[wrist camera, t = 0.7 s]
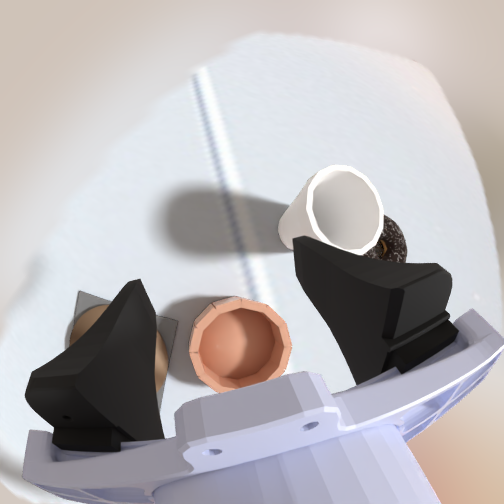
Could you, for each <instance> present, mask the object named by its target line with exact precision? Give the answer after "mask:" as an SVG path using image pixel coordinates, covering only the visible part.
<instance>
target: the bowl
mask: <svg viewBox="0 0 504 504" xmlns="http://www.w3.org/2000/svg"><path fill="white" fill-rule="evenodd" d="M212 304H213V305H212ZM212 304H211V303H210V304H209V305H208V307H207V308H206V309H205V310H204V311H203V312H202V313H201V314H200V315H199V316H198V317H197V318H196V319H195V321H194V323H193V327H192V331H191V336H190V340H189V354H190V357H191V360H192V363H193V366H194V369H195V371H196V374H197V376H198V378H199V379H200V380H202V381H203V382H204V383H205V384H207V385H208V386H209V387H210V388H212V389H213V390H214V391H216V392H218V393H222V392H227V391H231V390H235V389H239V388H242V387H246V386H250V385H253V384H257V383H261V382H264V381H267V380H271V379H274V378H277V377H280V376H281V375H282V374H283V373H284V372H285V370H283V369H286V367H287V364H288V360H289V357H290V353H291V349H292V347H291V346H292V343H291V339H290V336H289V332H288V328H287V324H286V323H285V321H284V320H283V319H282V318H281V317H280V316H279V315H278V314H277V313H276V312H275V311H274V310H273V309H272V308H270V307H269V306H268V305H267V304H264V303H261V302H258V301H254V300H250V299H246V298H241V297H237V296H233V297H229V298H226V299H222V300H219V301H216V302H212Z"/></svg>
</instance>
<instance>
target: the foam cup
mask: <svg viewBox="0 0 504 504" xmlns="http://www.w3.org/2000/svg"><path fill="white" fill-rule="evenodd" d="M383 216H384V209H383V206H382V203H381V200H380V197H379V194H378V191H377V190H376V189H375V187H374V186H373V185H372V183H371V182H370V181H369V180H368V178H367V177H366V176H365V175H364V174H362V173H360V172H359V171H357V170H355V169H354V168H352V167H350V166H341V165H331V166H329V167H327V168H325V169H323V170H321V171H319V172H317V173H316V174H315V175H313V176H312V177H311V178H310V179H308V180H307V182H306V184H305V185H304V187H303V188H302V190H301V191H300V193H299V195H298V196H297V197H296V198H295V200H294V201H293V202H292V203H291V205H290V206H289V207H288V208H287V210H286V211H285V212H284V214H283V215H282V217H281V219H280V220H279V225H278V233H279V236H280V239H281V241H282V242H283V243H284V244H285V246H286V247H287V248H289V249H291V250H293V242H292V238H296V237H300V236H304V235H305V236H308V237H311V238H314V239H316V240H319V241H321V242H324V243H326V244H329V245H331V246H334V247H337V248H339V249H342V250H345V251H348V252H351V253H354V254H357V255H363V254H364V253H366V252H367V251H368V250H370V249H371V248H372V247H373V246H375V245H376V243H377V241H378V239H379V237H380V235H381V232H382V230H383Z"/></svg>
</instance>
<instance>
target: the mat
mask: <svg viewBox="0 0 504 504" xmlns="http://www.w3.org/2000/svg"><path fill="white" fill-rule="evenodd" d="M110 303H111V301H108V300H105V299H102V298H99V297H96V296H94V295H91V294H88V293H85V292H82V291H80V292H79V297H78V302H77V308H76V314H75V320H74V326H75V324H76V322H77V321H78V320H79V318H80V317H81V316H82V315H83V314H85V313H86V312H87V311H89V310H91V309H93V308H96V307H98V306H102V305H110ZM156 323H157V330H158V331H159V333H160V335H161V336H162V338H163V341H164V343H165V346H166V349H167V354H168V365H169V360H170V355H171V351H172V346H173V341H174V337H175V332H176V328H177V323H178V321H176V320H172V319H168V318H165V317H161V316H158V315H156ZM73 328H74V327H73ZM165 381H166V378H165ZM165 381H164V383H163V385H162V387H161V388H160V390H159V391H158V392H157V401H158V408H159V414H160V408H161V402H162V397H163V391H164V386H165Z"/></svg>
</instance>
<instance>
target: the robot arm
mask: <svg viewBox="0 0 504 504" xmlns="http://www.w3.org/2000/svg"><path fill="white" fill-rule="evenodd" d="M292 242H293V251H294V261H295V272H296V276H297V278H298V280H299V282H300V284H301V286H302V288H303V290H304V292H305V293H306V295H307V296H308V298H309V299H310V301H311V302H312V303H313V305H314V306H315V308H316V309H317V310H318V312H319V313H320V315H321V316H322V318H323V319H324V320H325V322H326V323H327V325H328V327H329V328H330V330H331V332H332V334H333V335H334V337H335V339H336V341H337V343H338V345H339V347H340V349H341V351H342V353H343V355H344V357H345V359H346V362H347V364H348V366H349V368H350V371H351V373H352V375H353V378H354V380H355V383H356V385H357V386H355V387H352V388H350V389H348V390H346V391H342V392H338V393H333V394H331V393H330V391H329V389H328V387H327V385H326V383H325V381H324V380H323V378H322V376H321V374H316V373H311V372H306V371H303V372H298V373H292V374H287V375H284V376H281V377H277V378H274V379H271V380H267V381H264V382H261V383H257V384H253V385H250V386H246V387H242V388H239V389H235V390H231V391H227V392H222V393H218V394H214V395H209V396H204V397H200V398H197V399H195V400H192V401H189V402H186V403H184V404H183V405H182V406H181V407H180V408H179V409H178V410H177V411H176V412H175V413H174V417H175V428H176V436H175V437H172V438H168V439H165V437H164V433H163V429H162V424H161V419H160V414H159V408H158V401H157V393H156V384H155V355H156V338H157V323H156V312H155V310H154V308H153V306H152V304H151V301H150V299H149V297H148V295H147V293H146V291H145V288H144V286H143V284H142V282H141V279H137V280H133V281H129V282H128V283H127V284H126V285H125V286H124V287H123V288H122V289H121V291H120V292H119V293H118V295H117V296H116V297H115V298H114V300H113V301H112V302H111V303H110V305H109V306H108V307H107V309H106V310H105V311H104V312H103V313H102V315H101V316H100V317H99V318H98V319H97V321H96V322H95V323H94V324H93V325H92V326H91V327H90V328H89V329H88V330H87V331H86V332H85V333H84V334H83V335H82V336H81V337H80V338H79V339H78V340H77V341H76V342H74V343H73V344H72V345H71V346H70V347H69V348H67V349H66V350H65V351H64V352H62V353H61V354H60V355H58V356H57V357H55V358H54V359H53V360H51V361H50V362H48V363H46V364H45V365H43V366H41V367H40V368H38V369H36V370H34V371H32V373H31V376H30V379H29V382H28V385H27V388H26V392H25V398H26V401H27V402H28V404H29V405H30V407H31V408H32V409H33V410H34V411H35V412H36V413H37V414H38V415H40V416H41V417H42V418H43V419H44V420H45V421H47V422H48V423H49V424H50V425H52V426H53V427H54V432H53V434H52V433H50V432H47V431H40V430H29V434H28V440H27V445H26V451H25V458H24V466H23V474H22V477H23V479H24V480H26V481H28V482H30V483H32V484H33V485H35V486H37V487H39V488H41V489H43V490H45V491H47V492H49V493H52V494H54V495H56V496H58V497H61V498H63V499H67V500H71V501H76V502H81V503H86V504H441V502H440V501H439V499H438V497H437V495H436V494H435V492H434V490H433V488H432V487H431V485H430V483H429V481H428V480H427V478H426V476H425V474H424V473H423V471H422V469H421V468H420V466H419V464H418V462H417V461H416V459H415V457H414V456H413V454H412V452H411V451H410V449H409V447H408V446H407V444H406V442H408V441H409V440H411V439H412V438H413V437H415V436H416V435H418V434H419V433H420V432H422V431H423V430H425V429H426V428H427V427H429V426H430V425H431V424H433V423H434V422H435V421H437V420H438V419H439V418H440V417H442V416H443V415H444V414H445V413H447V412H448V411H449V410H450V409H451V408H452V407H454V406H455V405H456V404H457V403H458V402H460V401H461V400H462V399H463V398H464V397H465V396H466V395H467V394H469V393H470V392H471V391H472V390H473V389H474V388H475V387H476V386H477V385H479V384H480V383H481V382H482V381H483V380H484V378H485V377H486V376H487V374H488V373H489V372H490V370H491V369H492V367H493V366H494V364H495V363H496V361H497V360H498V358H499V357H500V355H501V353H502V352H503V350H504V338H503V337H502V336H501V335H500V334H499V333H498V332H497V331H496V330H495V329H494V328H493V327H492V326H491V325H490V324H489V323H488V322H487V321H486V320H485V319H484V318H483V317H482V316H481V315H479V314H478V313H477V312H476V311H475V310H474V309H470V310H469V311H467V312H466V313H464V314H463V315H462V316H460V317H459V318H458V319H456V320H455V322H454V323H453V324H452V323H451V322H450V321H449V320H448V319H449V318H450V314H449V313H448V312H447V311H446V310H445V309H446V306H447V303H448V300H449V296H450V293H451V289H452V277H451V274H450V273H449V272H447V271H446V270H445V269H444V268H443V267H441V266H440V265H439V264H437V263H400V262H391V261H384V260H378V259H373V258H369V257H365V256H361V255H357V254H354V253H351V252H348V251H345V250H342V249H339V248H337V247H334V246H331V245H329V244H326V243H324V242H321V241H319V240H316V239H314V238H311V237H308V236H305V235H304V236H300V237H296V238H292Z"/></svg>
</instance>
